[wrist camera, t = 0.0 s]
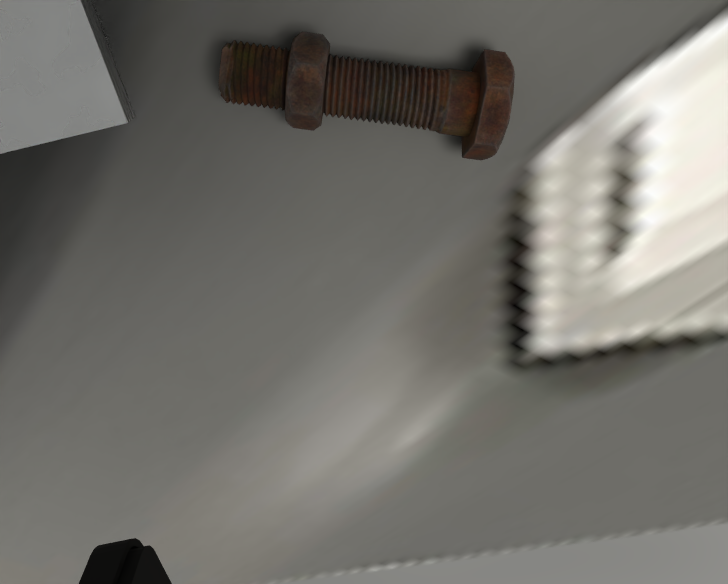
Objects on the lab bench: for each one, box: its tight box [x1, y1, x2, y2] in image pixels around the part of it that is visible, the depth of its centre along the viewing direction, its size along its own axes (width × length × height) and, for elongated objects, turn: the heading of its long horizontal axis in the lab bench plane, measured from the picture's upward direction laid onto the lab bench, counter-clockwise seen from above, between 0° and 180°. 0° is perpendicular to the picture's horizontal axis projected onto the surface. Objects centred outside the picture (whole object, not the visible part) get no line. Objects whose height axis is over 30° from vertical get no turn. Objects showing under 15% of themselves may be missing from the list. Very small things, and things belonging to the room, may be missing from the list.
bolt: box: [219, 32, 514, 160], centre depth 35 cm, size 6×5×15 cm
